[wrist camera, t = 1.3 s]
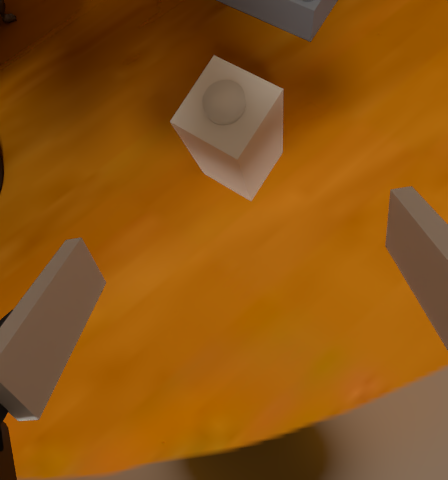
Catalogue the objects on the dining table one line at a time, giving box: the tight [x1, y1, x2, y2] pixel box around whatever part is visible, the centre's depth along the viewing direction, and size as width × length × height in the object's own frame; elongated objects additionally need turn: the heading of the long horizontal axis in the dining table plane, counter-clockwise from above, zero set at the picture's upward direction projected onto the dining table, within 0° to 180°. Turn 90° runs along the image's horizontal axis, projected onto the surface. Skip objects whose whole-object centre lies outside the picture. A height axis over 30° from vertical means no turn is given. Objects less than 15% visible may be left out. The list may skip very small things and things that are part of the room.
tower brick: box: [170, 55, 283, 201], centre depth 29 cm, size 6×6×12 cm
